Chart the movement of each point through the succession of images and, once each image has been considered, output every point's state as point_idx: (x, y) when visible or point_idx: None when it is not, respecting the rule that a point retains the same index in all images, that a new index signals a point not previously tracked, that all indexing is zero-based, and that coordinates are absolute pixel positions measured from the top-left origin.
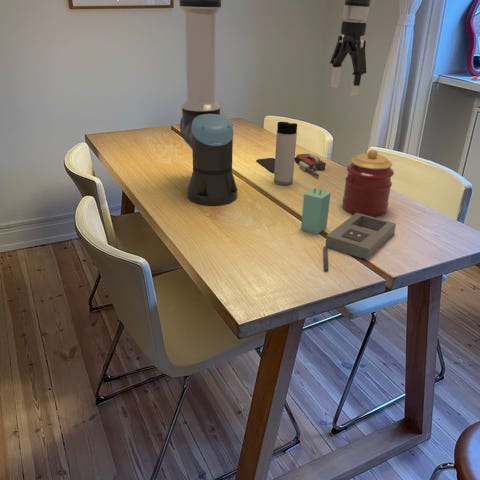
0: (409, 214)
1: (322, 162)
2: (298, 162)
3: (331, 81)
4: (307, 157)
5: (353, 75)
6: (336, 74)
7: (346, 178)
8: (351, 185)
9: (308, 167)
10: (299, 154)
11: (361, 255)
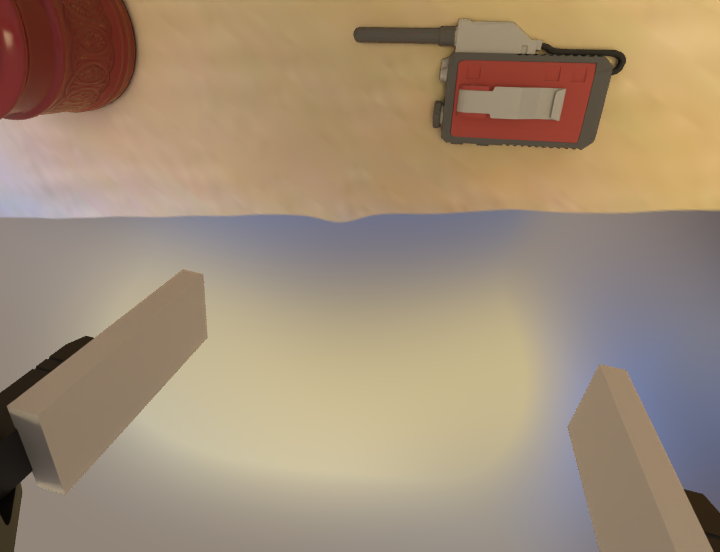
0: (32, 141)
1: (446, 123)
2: (559, 49)
3: (638, 414)
4: (541, 94)
5: (18, 399)
6: (626, 523)
7: None
8: None
9: (455, 44)
10: (605, 80)
11: None
